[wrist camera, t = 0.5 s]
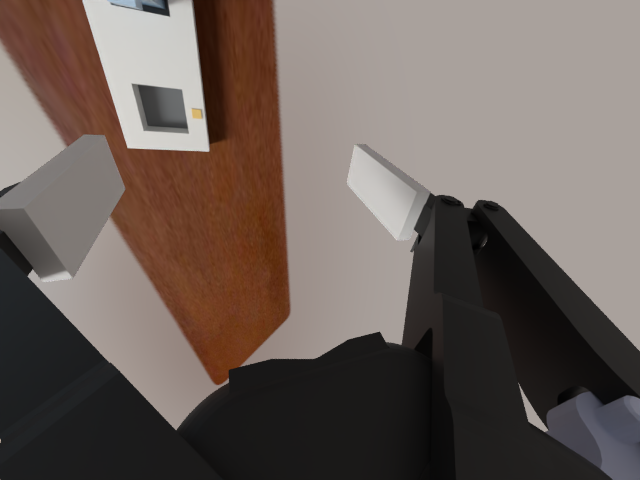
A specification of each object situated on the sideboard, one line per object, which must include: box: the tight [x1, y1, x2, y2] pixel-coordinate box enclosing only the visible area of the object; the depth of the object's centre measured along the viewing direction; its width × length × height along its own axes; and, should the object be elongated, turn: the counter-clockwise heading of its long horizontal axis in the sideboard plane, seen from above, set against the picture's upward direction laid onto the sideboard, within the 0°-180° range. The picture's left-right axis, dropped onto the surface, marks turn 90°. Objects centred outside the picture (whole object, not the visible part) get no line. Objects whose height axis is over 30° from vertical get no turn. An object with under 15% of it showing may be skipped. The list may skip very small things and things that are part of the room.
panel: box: [82, 0, 210, 151], centre depth 26 cm, size 20×9×3 cm, turn 172°
